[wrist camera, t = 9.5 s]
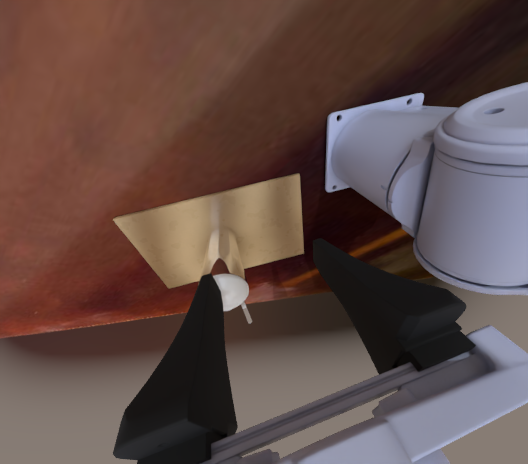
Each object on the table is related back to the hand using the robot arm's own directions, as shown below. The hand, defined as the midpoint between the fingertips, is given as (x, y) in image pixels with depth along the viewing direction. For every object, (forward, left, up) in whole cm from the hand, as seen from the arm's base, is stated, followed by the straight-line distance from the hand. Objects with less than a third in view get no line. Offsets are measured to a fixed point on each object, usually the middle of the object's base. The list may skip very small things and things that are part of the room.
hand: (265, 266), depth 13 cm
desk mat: (+4, +4, -10) cm, 12 cm away
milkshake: (+4, +4, -10) cm, 12 cm away
